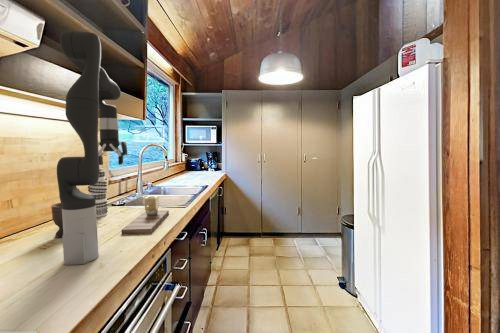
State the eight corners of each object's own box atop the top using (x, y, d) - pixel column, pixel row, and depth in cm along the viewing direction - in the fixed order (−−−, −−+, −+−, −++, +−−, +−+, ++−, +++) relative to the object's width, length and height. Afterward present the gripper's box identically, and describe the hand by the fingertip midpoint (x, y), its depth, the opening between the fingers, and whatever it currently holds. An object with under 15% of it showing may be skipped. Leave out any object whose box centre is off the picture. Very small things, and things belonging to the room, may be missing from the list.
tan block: (148, 207, 137) (147, 196, 137) (158, 207, 138) (158, 196, 137) (141, 213, 126) (140, 200, 126) (152, 213, 127) (151, 200, 126)
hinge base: (151, 233, 113) (150, 207, 112) (121, 234, 112) (120, 208, 111) (168, 214, 145) (168, 193, 144) (145, 214, 144) (145, 194, 143)
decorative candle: (92, 213, 147) (89, 167, 145) (110, 212, 150) (108, 167, 148) (86, 217, 139) (83, 169, 137) (106, 216, 141) (103, 168, 139)
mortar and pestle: (90, 231, 116) (87, 185, 115) (79, 238, 108) (76, 188, 106) (61, 232, 115) (58, 186, 114) (48, 239, 107) (45, 189, 105)
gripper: (88, 128, 118) (90, 165, 119) (121, 128, 119) (123, 165, 120) (96, 129, 125) (98, 164, 126) (128, 129, 126) (129, 163, 127)
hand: (110, 164), depth 123 cm, fingers open, 8 cm apart
